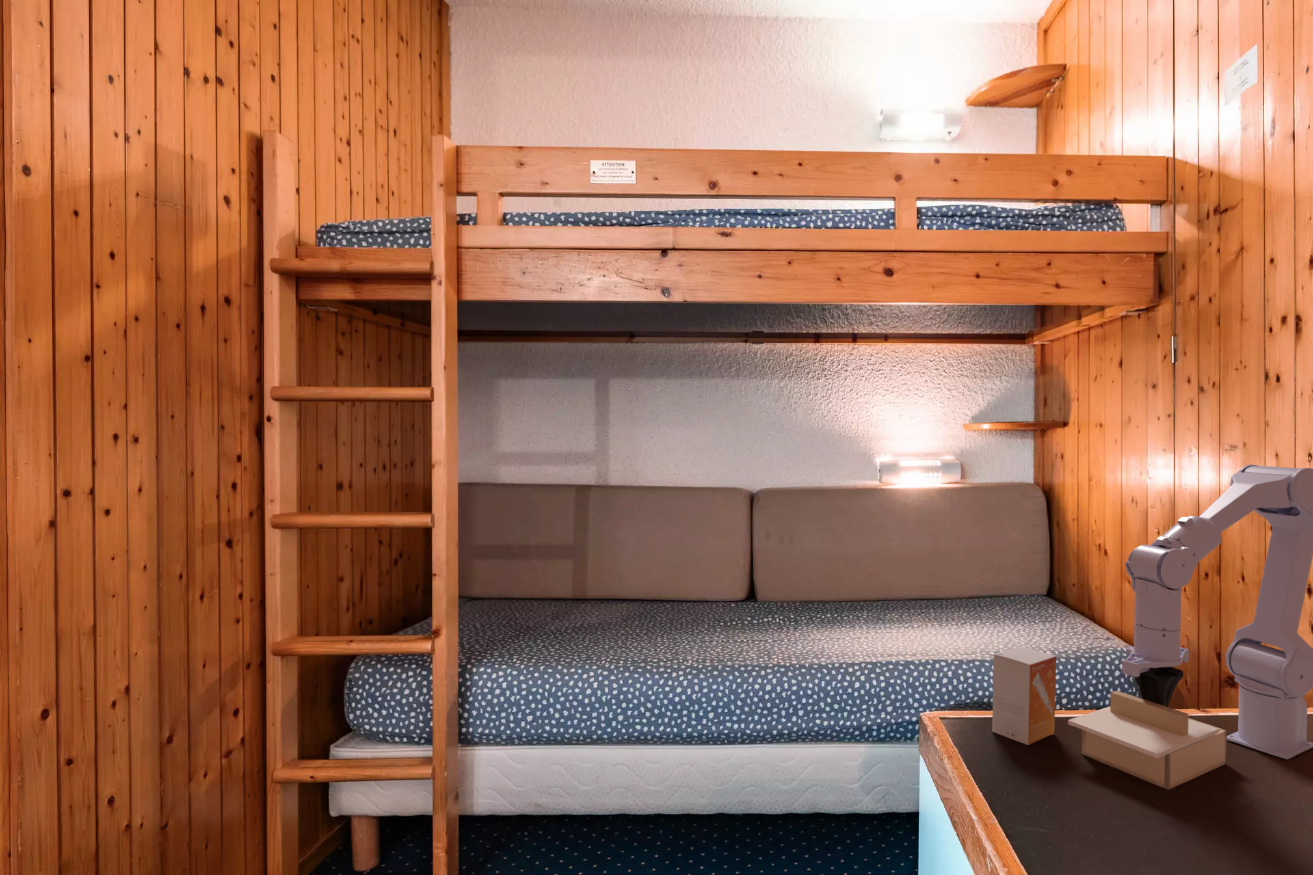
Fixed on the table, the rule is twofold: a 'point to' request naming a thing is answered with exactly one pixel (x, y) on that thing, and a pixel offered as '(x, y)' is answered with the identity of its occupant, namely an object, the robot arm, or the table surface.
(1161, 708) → the lid
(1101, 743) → the box
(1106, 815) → the table surface
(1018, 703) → the small box
